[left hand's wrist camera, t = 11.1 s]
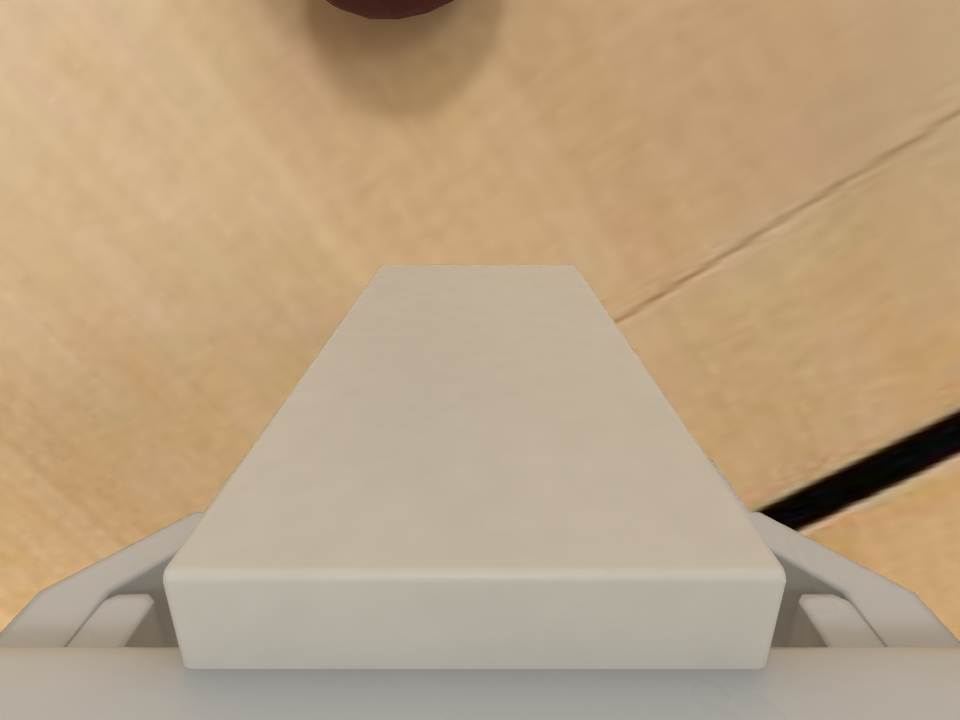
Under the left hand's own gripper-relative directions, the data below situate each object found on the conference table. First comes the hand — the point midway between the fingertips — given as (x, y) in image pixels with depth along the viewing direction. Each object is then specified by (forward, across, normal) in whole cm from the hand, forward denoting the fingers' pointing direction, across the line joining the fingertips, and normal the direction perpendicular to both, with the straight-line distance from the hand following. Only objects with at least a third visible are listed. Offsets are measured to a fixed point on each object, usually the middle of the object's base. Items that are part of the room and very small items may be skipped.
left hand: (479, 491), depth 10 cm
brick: (+6, 0, 0) cm, 6 cm away
